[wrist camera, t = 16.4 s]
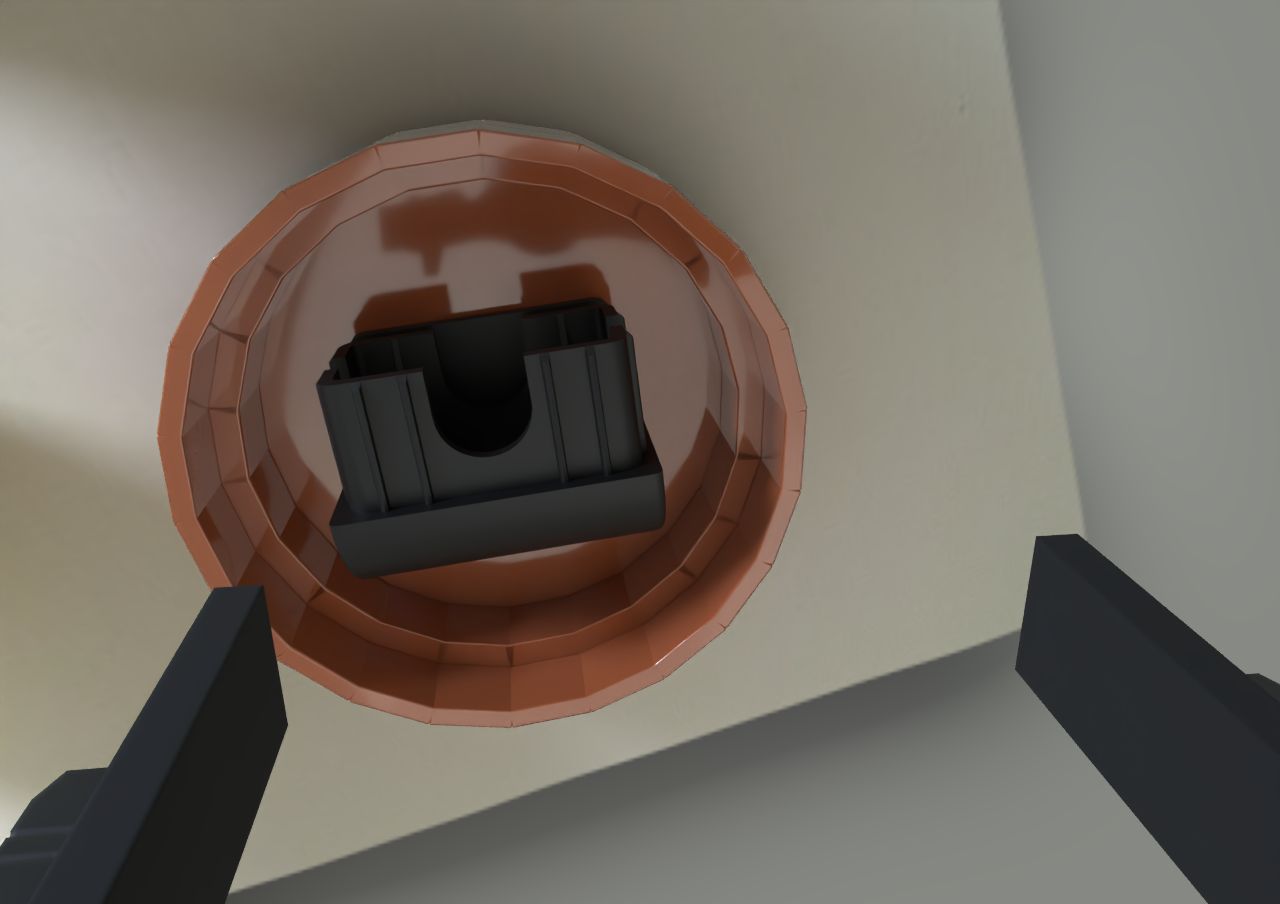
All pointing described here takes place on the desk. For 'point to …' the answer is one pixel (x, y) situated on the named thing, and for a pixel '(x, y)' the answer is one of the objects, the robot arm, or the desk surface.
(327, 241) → the ceramic bowl
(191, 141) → the desk surface
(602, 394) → the end cap
